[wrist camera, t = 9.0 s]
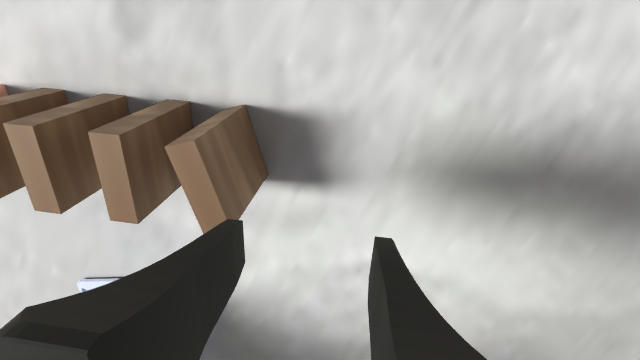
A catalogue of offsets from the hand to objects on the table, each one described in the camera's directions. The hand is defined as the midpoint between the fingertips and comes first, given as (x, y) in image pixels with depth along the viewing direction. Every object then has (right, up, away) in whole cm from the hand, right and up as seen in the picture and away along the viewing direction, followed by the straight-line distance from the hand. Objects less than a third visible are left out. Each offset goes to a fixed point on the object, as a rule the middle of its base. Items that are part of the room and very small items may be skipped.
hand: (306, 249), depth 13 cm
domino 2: (-9, +6, +10) cm, 15 cm away
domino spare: (-4, +5, +10) cm, 12 cm away
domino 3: (-13, +6, +11) cm, 18 cm away
